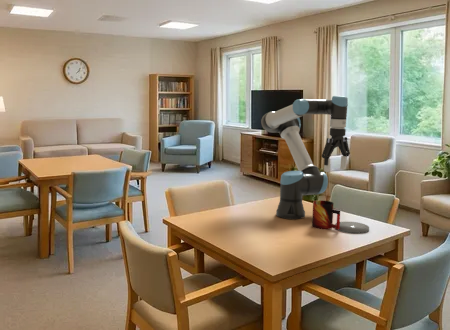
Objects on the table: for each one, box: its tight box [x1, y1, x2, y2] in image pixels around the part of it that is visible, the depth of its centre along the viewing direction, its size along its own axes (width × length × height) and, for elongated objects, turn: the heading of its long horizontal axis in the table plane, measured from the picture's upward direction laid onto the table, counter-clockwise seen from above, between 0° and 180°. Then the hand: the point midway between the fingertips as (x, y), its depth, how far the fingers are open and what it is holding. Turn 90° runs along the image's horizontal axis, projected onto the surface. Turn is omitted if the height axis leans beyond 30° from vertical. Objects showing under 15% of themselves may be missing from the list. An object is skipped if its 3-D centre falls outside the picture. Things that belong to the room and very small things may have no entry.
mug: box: [311, 199, 341, 231], centre depth 218 cm, size 10×14×12 cm
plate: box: [334, 221, 370, 235], centre depth 217 cm, size 16×16×1 cm
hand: (334, 170), depth 225 cm, fingers open, 13 cm apart
